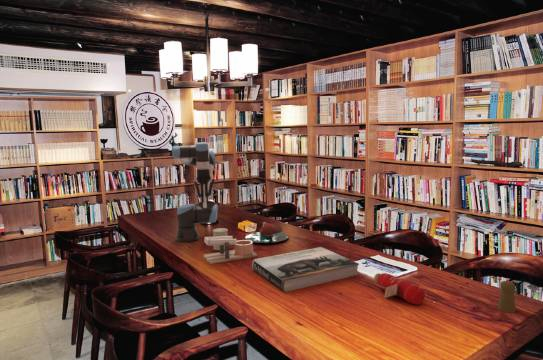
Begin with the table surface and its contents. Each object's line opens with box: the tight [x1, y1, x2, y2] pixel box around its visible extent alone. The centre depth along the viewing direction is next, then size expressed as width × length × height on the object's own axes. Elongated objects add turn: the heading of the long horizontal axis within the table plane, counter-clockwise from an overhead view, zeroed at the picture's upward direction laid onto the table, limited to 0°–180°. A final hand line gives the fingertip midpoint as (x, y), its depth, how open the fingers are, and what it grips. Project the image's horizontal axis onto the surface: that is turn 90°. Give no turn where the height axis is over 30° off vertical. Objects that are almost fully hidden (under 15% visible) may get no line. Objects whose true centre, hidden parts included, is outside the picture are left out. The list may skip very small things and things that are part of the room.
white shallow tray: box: [203, 235, 238, 247], centre depth 227 cm, size 15×16×3 cm
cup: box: [233, 239, 254, 255], centre depth 231 cm, size 10×10×6 cm
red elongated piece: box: [373, 272, 426, 305], centre depth 169 cm, size 12×8×25 cm
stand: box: [202, 242, 258, 265], centre depth 228 cm, size 15×28×10 cm, turn 114°
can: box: [212, 227, 229, 251], centre depth 244 cm, size 9×9×12 cm
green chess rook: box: [497, 280, 517, 314], centre depth 154 cm, size 6×6×11 cm
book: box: [251, 246, 360, 293], centre depth 199 cm, size 43×33×6 cm
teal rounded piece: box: [244, 221, 289, 244], centre depth 262 cm, size 28×28×11 cm
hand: (204, 207), depth 239 cm, fingers closed
